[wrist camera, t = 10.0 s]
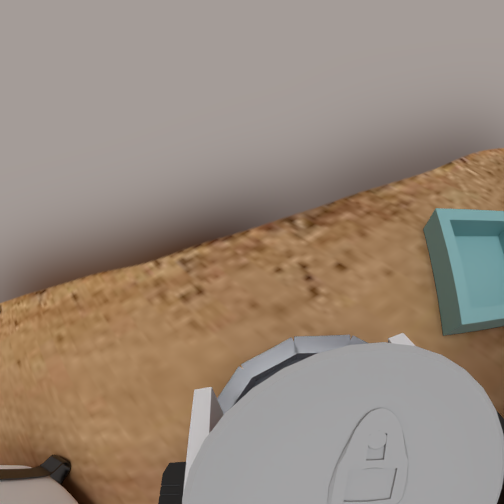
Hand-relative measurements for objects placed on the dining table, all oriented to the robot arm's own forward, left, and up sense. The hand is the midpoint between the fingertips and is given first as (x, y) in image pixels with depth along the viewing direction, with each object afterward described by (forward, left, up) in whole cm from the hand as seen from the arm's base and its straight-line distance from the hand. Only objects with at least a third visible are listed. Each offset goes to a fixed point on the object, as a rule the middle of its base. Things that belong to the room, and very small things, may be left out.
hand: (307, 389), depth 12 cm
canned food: (-1, +3, -4) cm, 5 cm away
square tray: (-15, -8, -7) cm, 18 cm away
